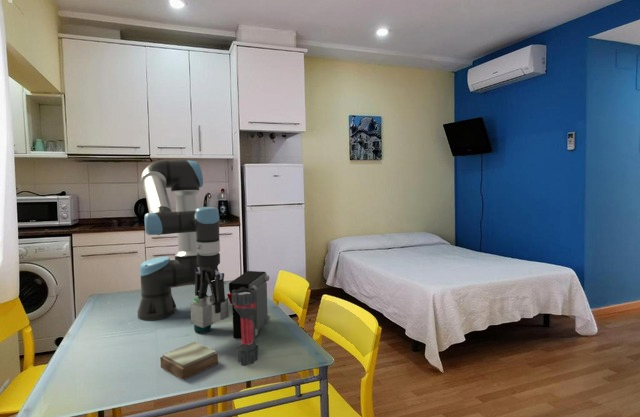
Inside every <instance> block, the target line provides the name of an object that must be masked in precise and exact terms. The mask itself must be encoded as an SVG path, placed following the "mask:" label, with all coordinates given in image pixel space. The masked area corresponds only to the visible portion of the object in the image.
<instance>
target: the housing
mask: <svg viewBox="0 0 640 417" xmlns="http://www.w3.org/2000/svg"><path fill="white" fill-rule="evenodd" d="M193 302H194V301H193ZM212 303H214V302H213V298H212V294H211V295H210V297H208V298H205V299H202V300H199V301H196V302H194V303H192V302H191V303H190V321H191V322H190V323H191V324H192V325H193V326H194V325H196V326H199V327H202V328H204V327H206V326H209V325H211V326H212V325H213V324H214V323H213V321H212ZM227 318H229V299H228V296H227V297H226V296H225V302H222V303H221V312H220V319H221V321H222V320H223V321H224V320H225V319H227Z"/></svg>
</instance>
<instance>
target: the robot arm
mask: <svg viewBox="0 0 640 417" xmlns="http://www.w3.org/2000/svg"><path fill="white" fill-rule="evenodd" d="M139 180H140V181H139V182H140V186H141V188H142V189H143V190H144V193H145V199H146V204H147V209H148V212H147V213H145V214H144V230H145V234H146V235H148V236H155V235H156V236H160V235H171V234H177V247H178V250H177V252H176V253H175V255H174V259H171V258H170V256H159V257H155V258H150V259H147V260H145V261H143V262H142V263H141V264H140V267H139V268H140V270H139V277H140V293H141V294H140V297H141V298H140V301H139V305H138V309H137V311H136V313H137V318H138V319H139V318H140V319H139V320H142V319H143V320H142V321H155V320H156V321H157V320H162V319H166V318H170V317H171V316H173V315H175V314H176V313H177V310H178V309H177V305H176V302H175V300H174V297H173V294H172V288H178V287H184V286H185V287H186V286H194V295H195V296H196V297H198V298H199V300H202V299H205V297H206V298H207V296H209V295H208V294H207V292H208V287H209V288H210V293H211V295H212V298H213V302H214V303H212V321H213V324H215V323H218V322H221V321H222V320H221V319H220V312H221V303H222V302H225V297H226V293H225V282H224V279H225V273H224V272H222V273H220V270H219V265H220V264H221V254H220V251H221V244H220V243H221V242H220V241H221V240H220V219H221V218H220V213H219V212H220V211H219V209H218V208H217V207H215V206H200V207H198V206H197V195H198V193H199V192H200V188H202V187H203V185H204V176H203V172H202V168H201V166H200V164H199V162H197V161H195V160H187V159H186V160H185V159H184V160H162V159H161V160H156V161H154V162H152V163H150V164H149V165H147V166H146V167H145V168H144V169H143V171H142V172H141V175H140V179H139ZM167 189H170V192H171V193H172V195H174V196H175V211H173V209H172V205H171V202H170V199H169V195H168V192H167Z"/></svg>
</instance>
